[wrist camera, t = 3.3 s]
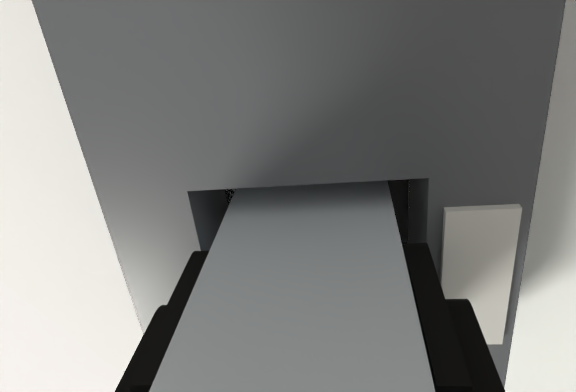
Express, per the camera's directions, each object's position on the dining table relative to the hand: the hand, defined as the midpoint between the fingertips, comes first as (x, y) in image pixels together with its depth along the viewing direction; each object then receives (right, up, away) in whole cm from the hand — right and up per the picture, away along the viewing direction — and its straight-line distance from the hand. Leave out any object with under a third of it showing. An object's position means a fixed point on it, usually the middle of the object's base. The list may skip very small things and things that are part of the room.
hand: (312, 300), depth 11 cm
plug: (0, +2, +3) cm, 4 cm away
